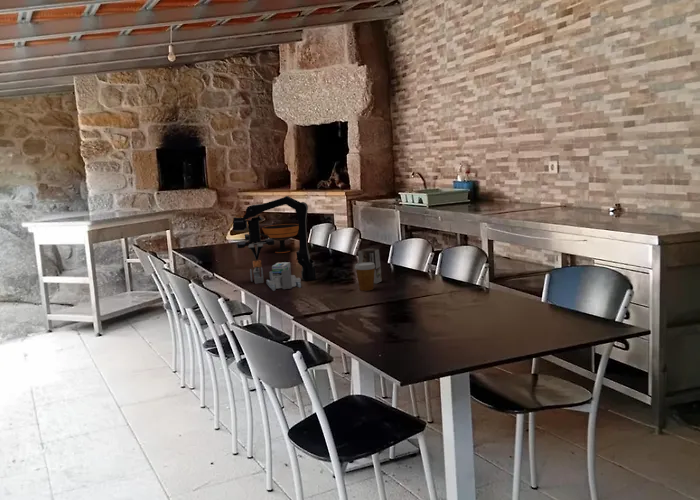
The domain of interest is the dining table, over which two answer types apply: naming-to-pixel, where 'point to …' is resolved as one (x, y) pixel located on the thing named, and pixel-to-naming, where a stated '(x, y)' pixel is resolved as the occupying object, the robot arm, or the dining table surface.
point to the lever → (256, 266)
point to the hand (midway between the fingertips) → (256, 259)
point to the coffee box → (373, 257)
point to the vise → (261, 280)
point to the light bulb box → (280, 268)
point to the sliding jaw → (285, 280)
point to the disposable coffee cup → (365, 275)
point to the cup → (281, 234)
